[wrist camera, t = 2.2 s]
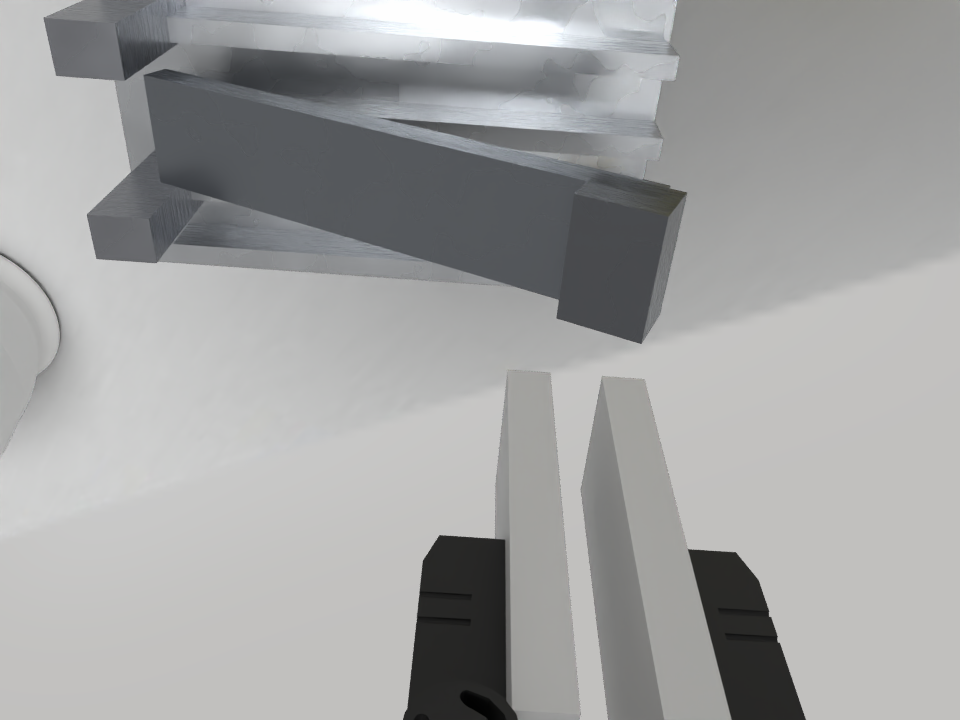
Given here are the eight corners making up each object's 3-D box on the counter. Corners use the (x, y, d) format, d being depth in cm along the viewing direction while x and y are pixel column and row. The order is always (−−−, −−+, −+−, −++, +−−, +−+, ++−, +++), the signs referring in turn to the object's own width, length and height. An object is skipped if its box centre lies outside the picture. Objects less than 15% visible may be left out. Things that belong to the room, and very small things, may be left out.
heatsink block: (661, -96, 31) (737, -55, 21) (606, 233, 39) (642, 375, 29) (144, -137, 31) (-24, -116, 21) (192, 204, 39) (85, 337, 29)
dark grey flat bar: (181, 173, 28) (138, 191, 27) (166, 68, 26) (118, 81, 25) (661, 310, 23) (641, 343, 21) (689, 190, 21) (668, 217, 19)
